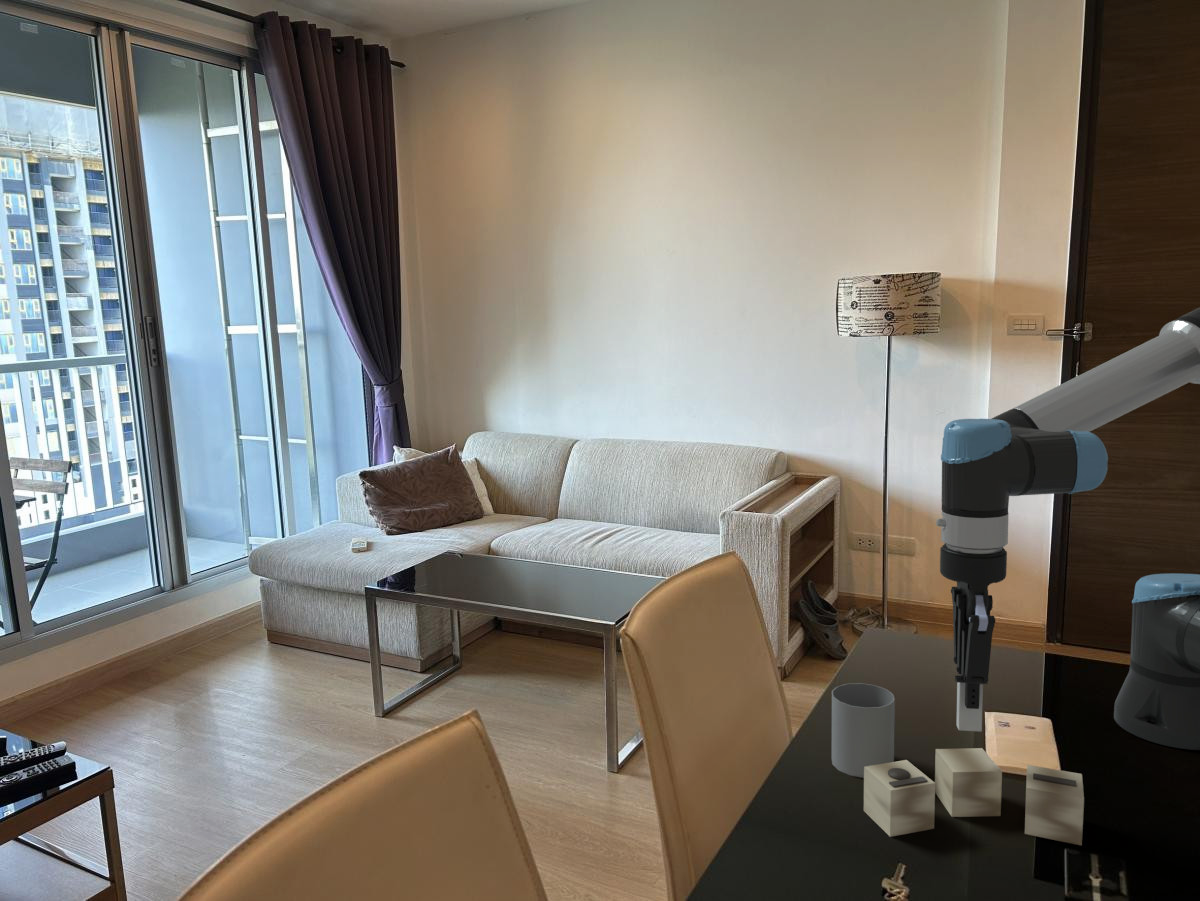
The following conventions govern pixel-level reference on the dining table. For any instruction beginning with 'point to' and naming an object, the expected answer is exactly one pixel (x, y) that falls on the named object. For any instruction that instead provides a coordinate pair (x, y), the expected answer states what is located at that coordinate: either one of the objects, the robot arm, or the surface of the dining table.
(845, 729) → the cup
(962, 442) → the robot arm
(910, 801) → the striped block
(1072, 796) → the striped block
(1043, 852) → the dining table surface
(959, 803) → the plain block
